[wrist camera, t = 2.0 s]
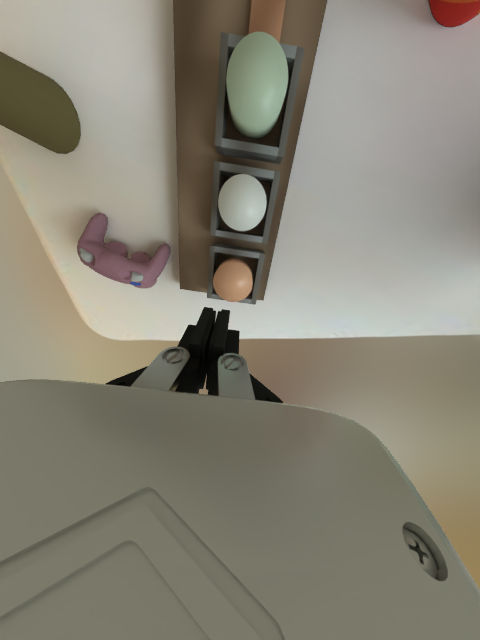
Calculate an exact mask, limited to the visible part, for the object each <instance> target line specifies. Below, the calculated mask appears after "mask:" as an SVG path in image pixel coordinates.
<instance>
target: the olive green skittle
mask: <svg viewBox="0 0 480 640" xmlns="http://www.w3.org/2000/svg"><path fill="white" fill-rule="evenodd" d="M0 125H2V126H4V127H6V128H8V129H10V130H12V131H14V132H16V133H18V134H20V135H22V136H24V137H26V138H28V139H30V140H32V141H34V142H36V143H38V144H39V145H41V146H43V147H45V148H47V149H49V150H52V151H54V152H56V153H62V154H67V153H69V152H72V151H73V150H74V149H75V148H76V147H77V145H78V143H79V139H80V122H79V118H78V114H77V111H76V109H75V107H74V105H73V103H72V101H71V99H70V98H69V96H68V95H67V94H66V92H65V91H64V90H63V88H62V87H61V86H59V85H58V84H57V83H56V82H55V81H54V80H53V79H51V78H49V77H47V76H45V75H43V74H42V73H40V72H38V71H36V70H34V69H32V68H30V67H28V66H26V65H25V64H23V63H21V62H19V61H17V60H15V59H13V58H11V57H9V56H7V55H6V54H4V53H2V52H0Z"/></svg>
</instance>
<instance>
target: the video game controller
mask: <svg viewBox="0 0 480 640" xmlns="http://www.w3.org/2000/svg"><path fill="white" fill-rule="evenodd" d="M107 224H108V221H107V217H106V215H105V214H103V213H98V214H95V215H94V216H93V217H92V218H91V219H90V221H89V223H88V224H87V226H86V228H85V230H84V232H83V234H82V235H81V237H80V239H79V241H78V245H77V251H78V255H79V257H80V259H81V261H82V262H83V263H84V264H85V265H87V266H89V267H90V268H91V269H93V270H94V271H96V272H97V273H99V274H101V275H103V276H105V277H107V278H110V279H113V280H115V281H118V282H122V283H126V284H132V285H134V286H135V287H138V288H149V287H152V286H153V285H154V284H155V283H156V281H157V278H158V277H159V275H160V274H161V272H162V271H163V269H164V267H165V265H166V263H167V260H168V258H169V254H170V247H169V245H168V244H163V245H162V246H161V247H159V249H158V250H157V252H156V253H155V255H154V256H153V258H152V259H151V260H150V257H149V256H148V255H147V254H145V253H142V252H136V253H134V254H132V256H131V259H129V258H126V256H127V254H128V253H127V247H126V245H125V244H123V243H121V242H117V241H114V242H110V243H106V244H105V243H104V236H105V233H106V230H107Z"/></svg>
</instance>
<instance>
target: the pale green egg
mask: <svg viewBox="0 0 480 640" xmlns="http://www.w3.org/2000/svg"><path fill="white" fill-rule="evenodd" d="M226 85H227V93H228V100H229V106H230V112H231V117H232V120H233V123H234V125H235V127H236V128H237V130H238V131H239V132H240V133H241V134H242V135H243V136H245V137H247V138H250V139H259V138H262V137H264V136H265V135H267V134H268V133H269V132H270V131H271V130H272V129H273V127H274V126H275V124H276V122H277V120H278V117H279V114H280V111H281V108H282V104H283V101H284V98H285V95H286V91H287V85H288V66H287V60H286V56H285V54H284V51H283V49H282V47H281V45H280V44H279V42H278V41H277V40H276V39H275V38H274V37H273V36H271V35H270V34H268V33H265V32H253V33H250V34H248V35H247V36H245V37H244V38H243V39H242V40H241V41H240V42H239V43H238V44H237V46H236V47H235V49H234V51H233V53H232V55H231V57H230V60H229V64H228V68H227V76H226Z"/></svg>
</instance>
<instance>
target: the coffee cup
mask: <svg viewBox="0 0 480 640" xmlns="http://www.w3.org/2000/svg"><path fill="white" fill-rule="evenodd" d="M429 4H430V9H431V12H432V15H433V17H434V18H435V20H436V21H437V22H438V23H439V24H441V25H442V26H445V27H455V26H459V25H462V24H464V23H466V22H467V21H469V20H471V19H472V18H474V17H475V16H476V15H478V14H479V13H480V0H429Z"/></svg>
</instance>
